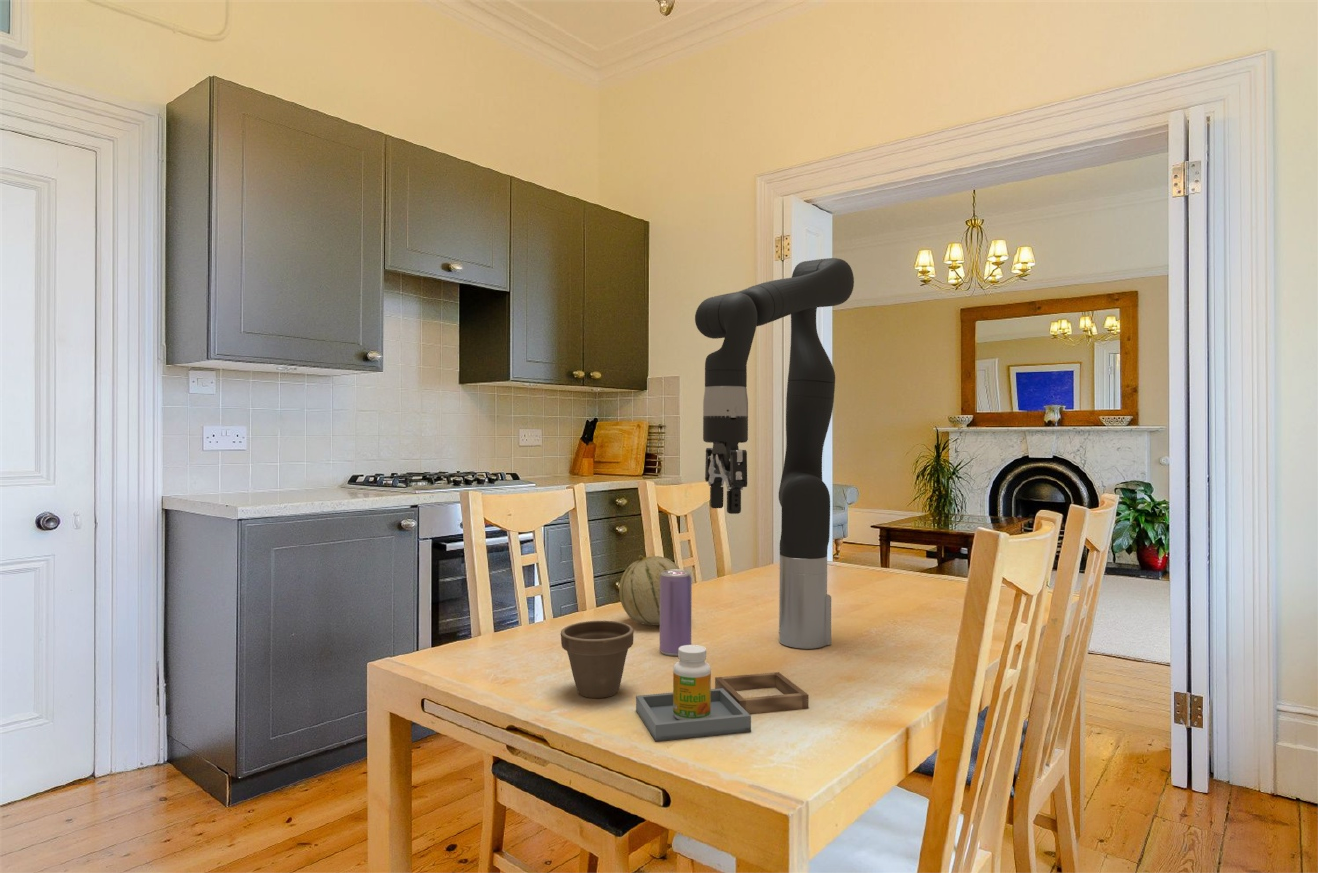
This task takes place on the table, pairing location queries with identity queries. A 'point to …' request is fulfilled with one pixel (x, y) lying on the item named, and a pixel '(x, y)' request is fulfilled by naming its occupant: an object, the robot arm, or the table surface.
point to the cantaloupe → (644, 588)
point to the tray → (667, 727)
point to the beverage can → (675, 610)
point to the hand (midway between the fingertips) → (725, 510)
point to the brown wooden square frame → (788, 701)
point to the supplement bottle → (691, 684)
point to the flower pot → (597, 655)
